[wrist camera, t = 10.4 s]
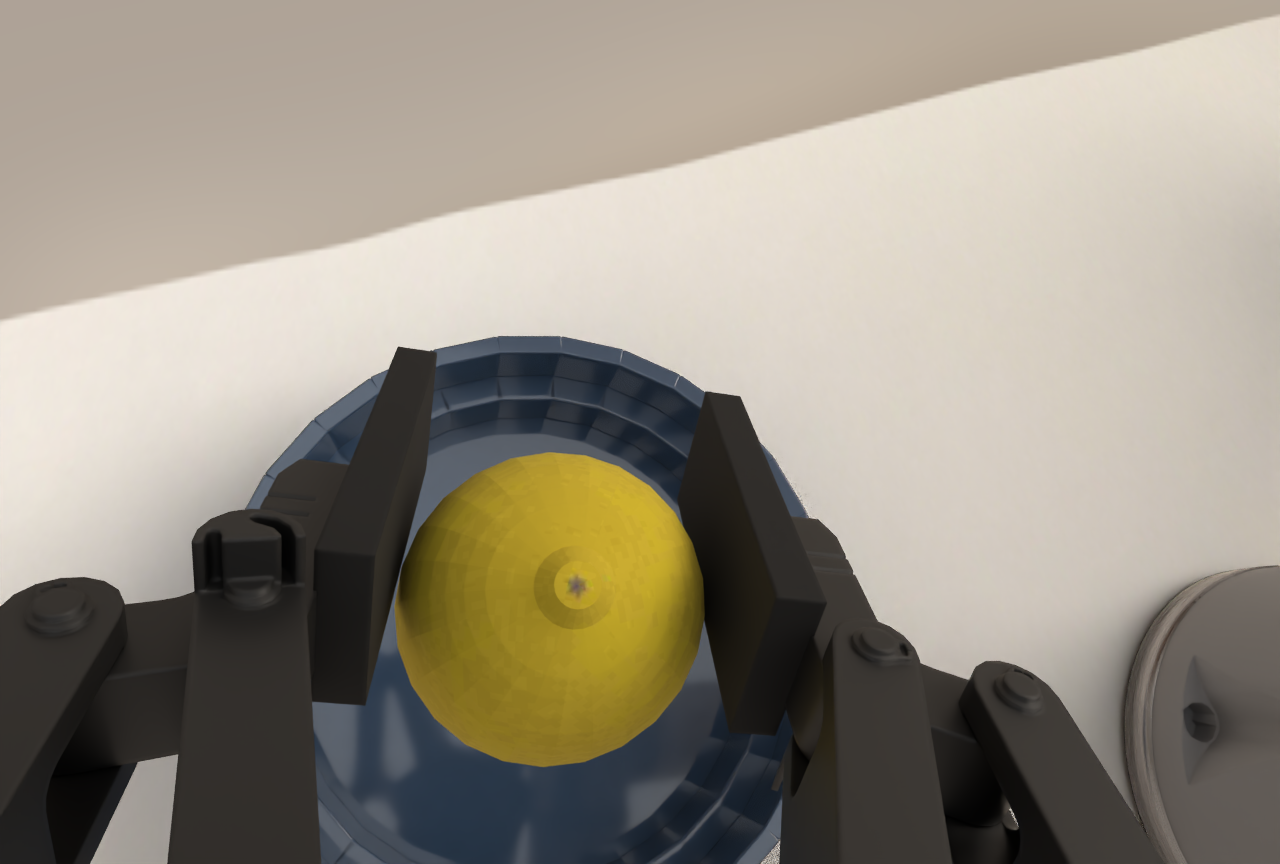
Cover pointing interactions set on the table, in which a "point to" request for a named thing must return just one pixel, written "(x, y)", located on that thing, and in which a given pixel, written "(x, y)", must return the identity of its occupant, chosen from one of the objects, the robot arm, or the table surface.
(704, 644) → the bowl
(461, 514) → the lemon
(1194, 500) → the table surface
